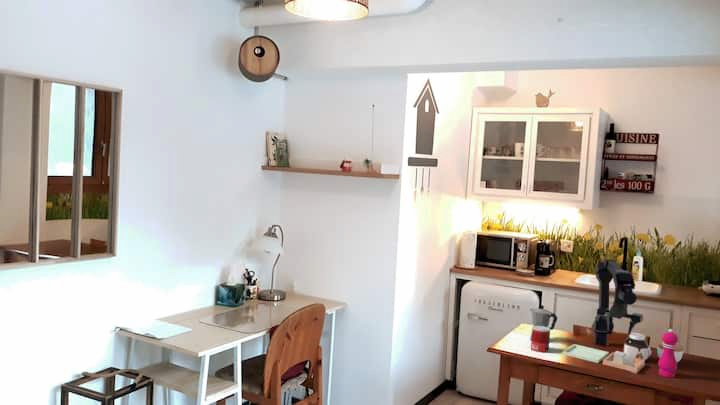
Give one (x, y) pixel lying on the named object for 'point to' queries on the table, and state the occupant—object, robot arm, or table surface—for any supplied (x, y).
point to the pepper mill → (668, 355)
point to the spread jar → (637, 346)
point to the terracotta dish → (637, 365)
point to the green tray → (585, 353)
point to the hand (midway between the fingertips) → (618, 332)
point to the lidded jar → (677, 352)
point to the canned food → (540, 339)
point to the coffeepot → (543, 318)
